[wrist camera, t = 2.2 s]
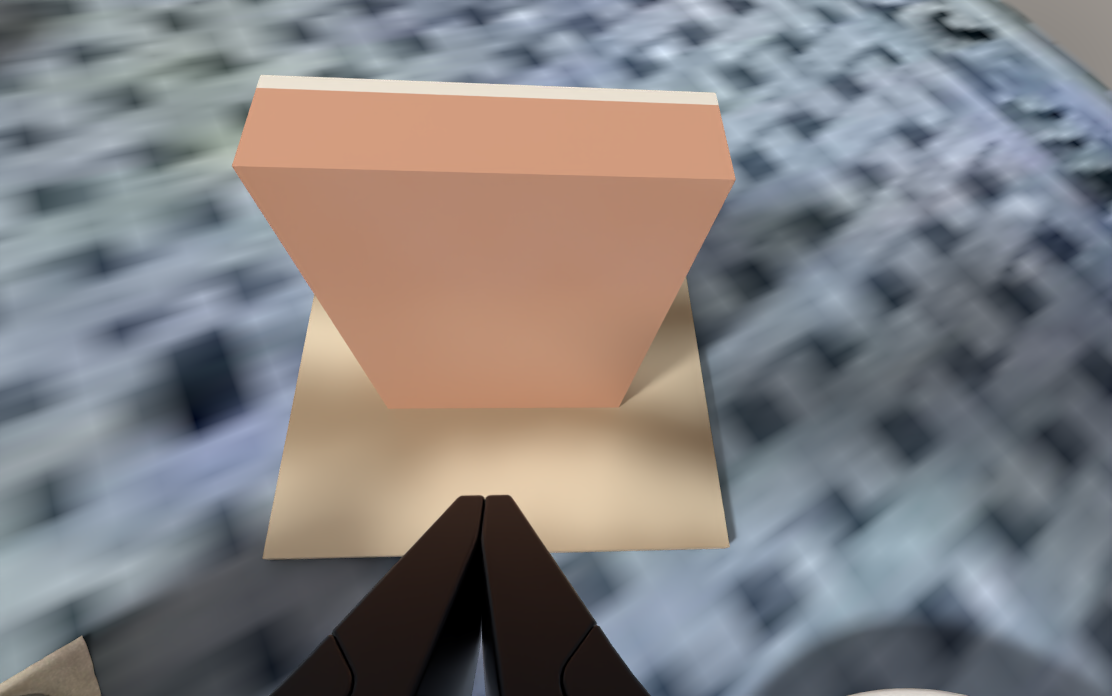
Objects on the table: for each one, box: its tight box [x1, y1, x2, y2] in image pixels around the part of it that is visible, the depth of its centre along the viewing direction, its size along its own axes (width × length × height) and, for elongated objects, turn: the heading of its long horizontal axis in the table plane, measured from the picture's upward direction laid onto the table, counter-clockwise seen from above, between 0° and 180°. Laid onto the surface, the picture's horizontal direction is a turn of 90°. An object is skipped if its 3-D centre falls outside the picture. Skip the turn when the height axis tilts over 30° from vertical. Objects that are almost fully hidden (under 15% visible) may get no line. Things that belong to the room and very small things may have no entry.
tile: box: [232, 75, 736, 409], centre depth 18 cm, size 3×10×14 cm, turn 92°
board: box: [262, 277, 730, 560], centre depth 26 cm, size 24×18×1 cm
